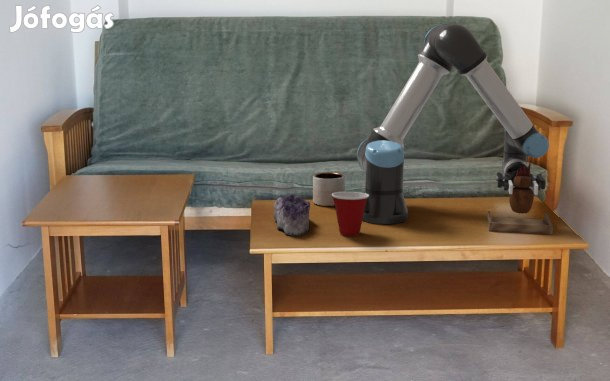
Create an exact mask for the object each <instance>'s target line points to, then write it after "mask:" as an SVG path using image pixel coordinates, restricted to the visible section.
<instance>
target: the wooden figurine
mask: <svg viewBox="0 0 610 381" xmlns="http://www.w3.org/2000/svg"><path fill="white" fill-rule="evenodd" d="M527 166H528V169H527V172H526V168H525V164H524V167H523V172H522V168H520V172H519V171H518V170H517V174H516V176H515V178H514V186H513V191H512V194H509V202H508V203H509V206H510V209H511V211H512V212H513V213H516V214H527V213H529V212H530V211H531V209H532V207H533V203H534V197H535V194H534V192H533V188H531V187H530V186H531V178H530V173H531V162H529V164H528V165H527Z"/></svg>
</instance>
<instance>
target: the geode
mask: <svg viewBox="0 0 610 381" xmlns="http://www.w3.org/2000/svg"><path fill="white" fill-rule="evenodd" d="M273 209H274V210H273V211H274V212H273V218H274V220H275V221H276V227H277V229H279V230H282V231H283V233H284V235H285V236H290V237H300V236H301V237H302V235H303V236H304V235H305V234H307V233H308V232H309V228H310V224H309V223H310V212H311V211H310V209H311V202H310V201H308V200H305V199H303V198H301V196H300V195H297V196H296V194H287V195H286V196H284V197H278V198H277V199H276V200H275V202H274V204H273Z"/></svg>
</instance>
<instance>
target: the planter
mask: <svg viewBox="0 0 610 381" xmlns="http://www.w3.org/2000/svg"><path fill="white" fill-rule="evenodd" d="M345 177H346V175H345V174H344V173H340V172H334V171H333V172H332V171H330V172H329V171H328V172H325V171H324V172H318V173H314V174H313V175H312V203H314V204H315V205H316V204H317V205H316V206H319V205H320V207H326V206H331V207H335V203H334V199H333V197H332V193H336V192H346V189H345V188H346V178H345Z"/></svg>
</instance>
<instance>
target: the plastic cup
mask: <svg viewBox="0 0 610 381" xmlns="http://www.w3.org/2000/svg"><path fill="white" fill-rule="evenodd" d="M332 197H333V199H334V203H335V206H334V207H335V208H334V209H335V213H336V220H337V223H338V231H339V234H340V235H341V236H344V237H356V236H359V235H360V233H361V230H362V229H361V228H362V224H363V214H364V209H365V205H366V201H367V199H368V197H369V194H366V193H364V192H360V191H345V192H336V193H332Z"/></svg>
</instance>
